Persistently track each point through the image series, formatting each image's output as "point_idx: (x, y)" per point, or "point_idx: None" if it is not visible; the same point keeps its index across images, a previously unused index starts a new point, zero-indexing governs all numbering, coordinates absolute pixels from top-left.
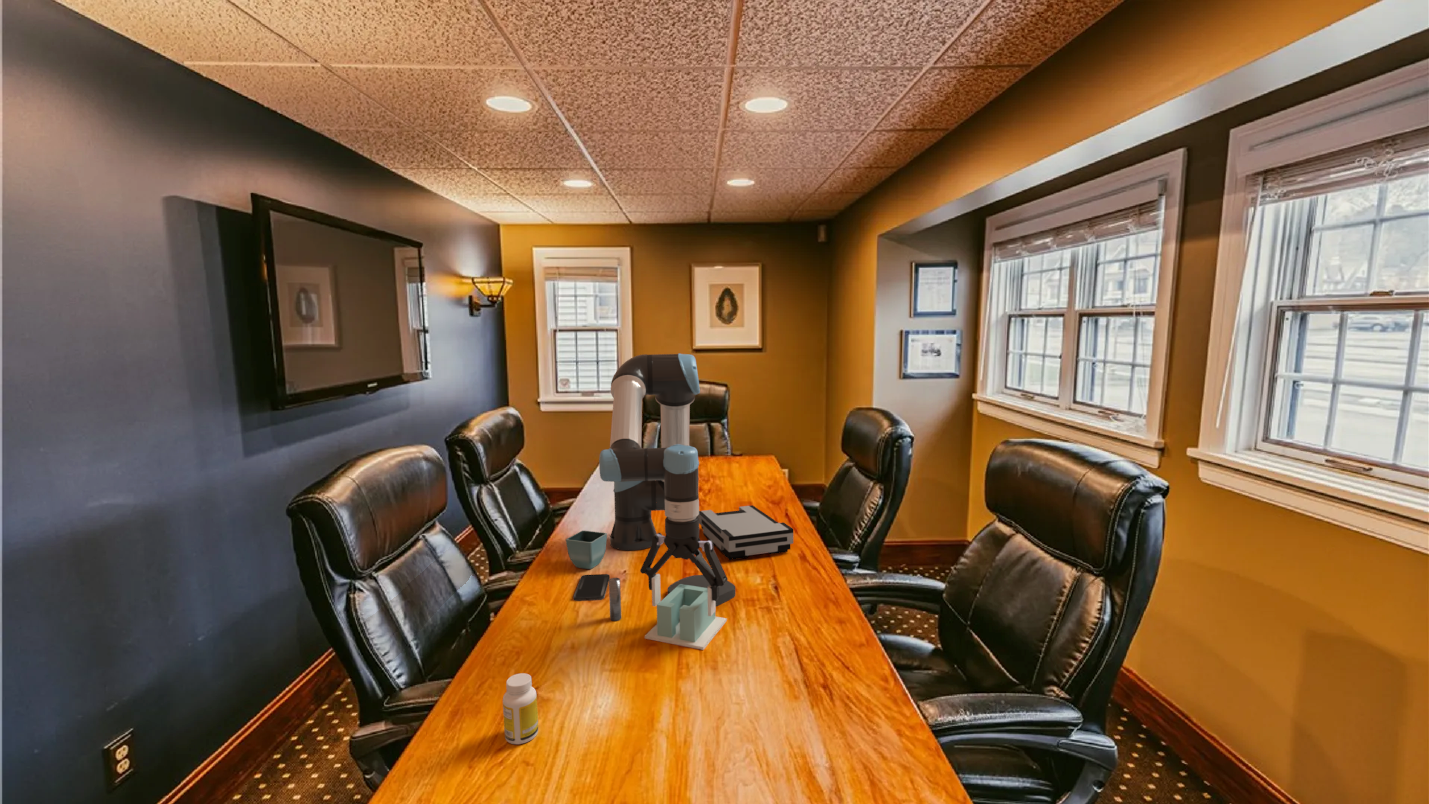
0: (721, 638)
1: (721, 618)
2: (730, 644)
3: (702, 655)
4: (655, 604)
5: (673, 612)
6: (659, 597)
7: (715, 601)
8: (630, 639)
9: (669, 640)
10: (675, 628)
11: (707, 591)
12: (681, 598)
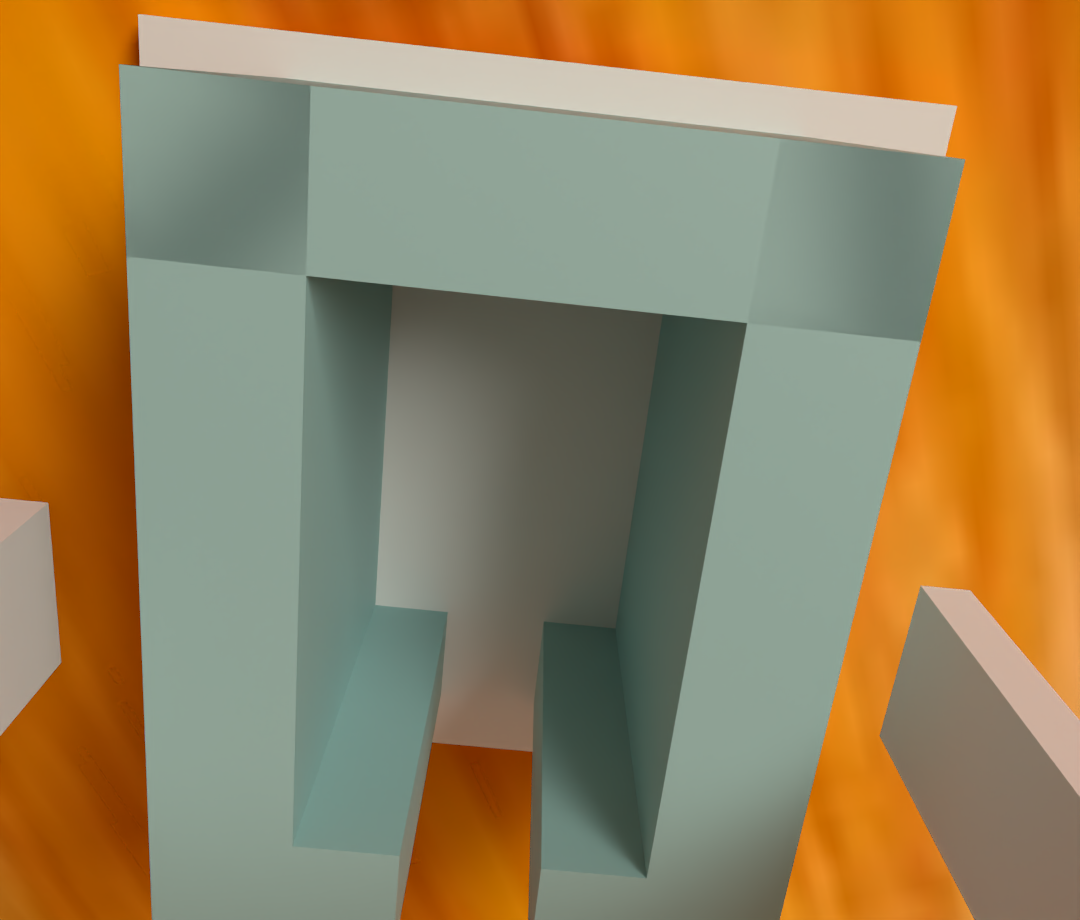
0: (933, 526)
1: (887, 126)
2: (1040, 613)
3: (802, 832)
4: (48, 666)
5: (411, 826)
6: (12, 576)
7: (1039, 673)
8: (49, 741)
9: (437, 740)
10: (441, 648)
11: (822, 307)
12: (334, 365)
